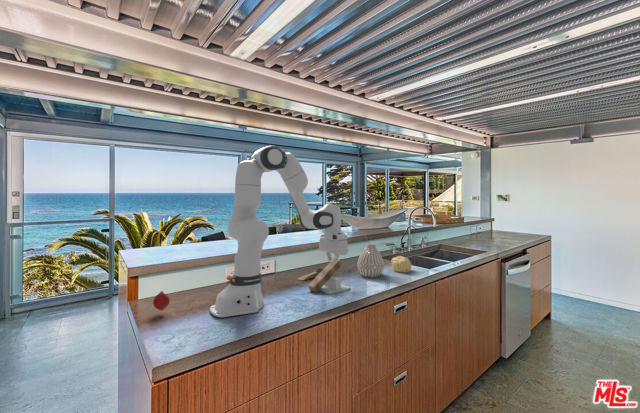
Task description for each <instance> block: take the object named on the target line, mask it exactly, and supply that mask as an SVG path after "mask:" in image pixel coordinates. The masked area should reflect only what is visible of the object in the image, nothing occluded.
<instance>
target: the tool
mask: <svg viewBox="0 0 640 413" xmlns="http://www.w3.org/2000/svg"><path fill="white" fill-rule="evenodd" d="M323 269H324V268H319V269H318V268H317V269H316V270H315V271H314V272H311V273H307V274H305V275H302V276H300V277H298V278H297V280H298V281H306V280H311V279H315V277H316V276H317V275H318V274H319V273H320V272H321V271H322V270H323Z"/></svg>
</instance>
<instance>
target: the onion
mask: <svg viewBox="0 0 640 413" xmlns="http://www.w3.org/2000/svg"><path fill="white" fill-rule="evenodd" d="M152 304H153V307H154V308H155V309H157V310H158V311H164V310H165V309H166V308H167V307H168V306H169V304H170V297H169V295H167V294H166V293H165V292H164V291H163V290H161V291H160V292H159V293H157V295H156V296H155V297H154V299H153V302H152Z"/></svg>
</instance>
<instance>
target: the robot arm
mask: <svg viewBox="0 0 640 413" xmlns="http://www.w3.org/2000/svg"><path fill="white" fill-rule="evenodd" d="M273 171H275V172H277V173H278V174H279V175H280V178H281V179H282V181H283V183H284V185H285V187H286V188H287V190H288V193H289V196H290V198H291V200H292V203H293V204H294V205H293V206H294V207H295V209H296V212H297V213H298V218H299V219H298V220H299V223H300V225H301V227H302V228H304V229H305V230H323V233H322V234H321V235H320V238H319V243H318V249H319V251H320V252H325V254H326V258H327V261H328V262H331V261H332V260H334V262H338V259H340V258H339V257H340V256H347V255H348V252H349V243H348V238H349V236H348V235H347V234H346V233H344V232H343V231H342V227H341V222H342V214H341V212H342V211H341V208H340V206H339V205H338V204H335V203H326V204H324V206H322V207H320V208H319V209H317V210H316V209H315V210H313V209H312V208H310V207H309V204H308V201H307V200H306V198H305V195H304V190H306V189H307V187H308V184H309V179H308V176H307V174H306V172H305V169H304V168H303V166H302V164H301V163H300V162H299V159H297V157H296V156H295V155H294V154H293V153H291V152H285V151H283V150H282V149H281V148H280V147H278V146H276V145H267V146H265V147H261V148H258V149H257V150H255V151H253V153H252V154H251V155H250V157H249V159H248V160H243V161H241V162H239V163H238V165H237V167H236V172H235V173H236V174H235V183H234V205H233V210H232V215H231V218H230V219H231V220H230V222H229V224H228V225H227V231H228V235H230V237H231V238H233V239H234V240H235V241H238V243H239V244H238V247H237V248H238V249H237V251H236V253H235V255H234V274H233V275H230V274H228V275H227V276H226V280H227V281H229V284H228V285H227V286H226V287H225V288H223V289H222V290H221V291H220V292H219V293H218V294H217V295H216V300H215V303H214V304H213V305H211V306H210V307H209V312H210V313H211V314H212V316H215V317H218V318H227V317H234V316H239V315H247V314H254V313H258V312H259V311H260V309H262V308H264V306H265V303H264V300H263V295H262V282H263V281H262V279H263V278H262V272H261V256H262V250H263V246H264V243H265V241H266V240H267V239H268V237H269V235H270V229H269V226H268V223H266V222H265V221H264V220H262V219H260V218H257V217H256V216H257V212H258V209H259V207H260V206H261V202H262V176H263V174H264V173H269V172H273ZM331 254H334V258H335V259H334V258H333V257H332V256H331Z"/></svg>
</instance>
